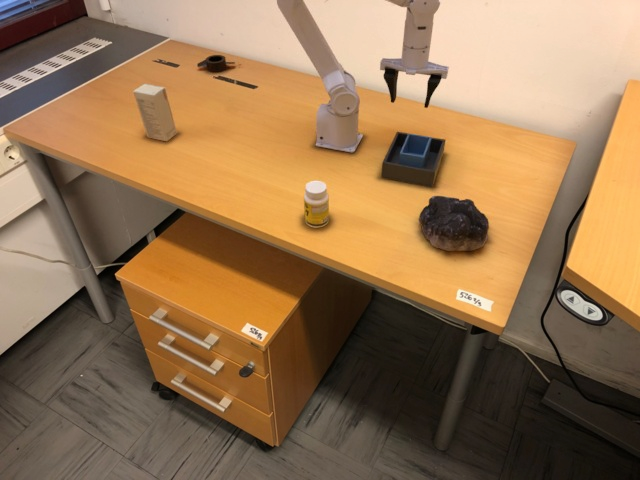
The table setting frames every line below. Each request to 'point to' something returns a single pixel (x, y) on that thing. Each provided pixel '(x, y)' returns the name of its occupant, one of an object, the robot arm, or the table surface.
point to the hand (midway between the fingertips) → (409, 103)
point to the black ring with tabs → (215, 63)
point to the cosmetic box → (155, 112)
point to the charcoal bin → (410, 173)
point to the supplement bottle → (316, 204)
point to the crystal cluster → (454, 224)
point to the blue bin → (415, 151)
